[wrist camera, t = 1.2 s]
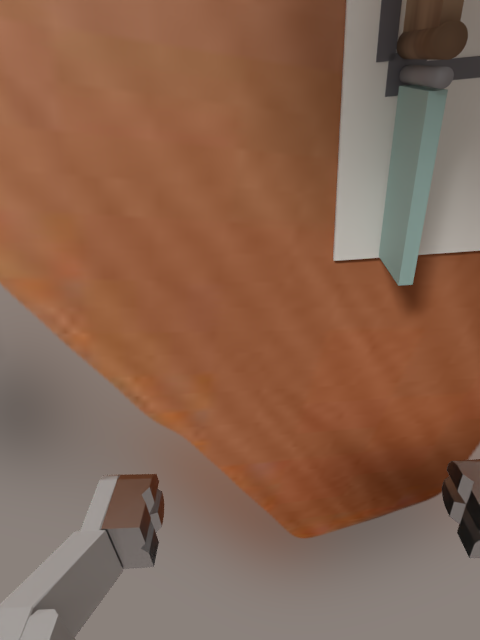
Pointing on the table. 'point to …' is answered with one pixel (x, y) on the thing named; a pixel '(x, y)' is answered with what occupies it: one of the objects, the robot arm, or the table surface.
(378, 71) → the card
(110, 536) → the robot arm
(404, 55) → the fence
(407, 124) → the gate panel
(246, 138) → the table surface
